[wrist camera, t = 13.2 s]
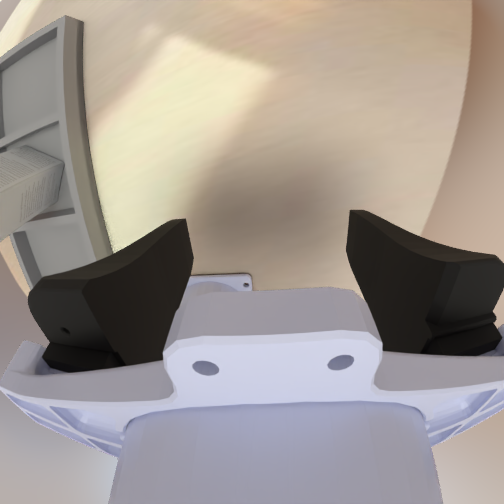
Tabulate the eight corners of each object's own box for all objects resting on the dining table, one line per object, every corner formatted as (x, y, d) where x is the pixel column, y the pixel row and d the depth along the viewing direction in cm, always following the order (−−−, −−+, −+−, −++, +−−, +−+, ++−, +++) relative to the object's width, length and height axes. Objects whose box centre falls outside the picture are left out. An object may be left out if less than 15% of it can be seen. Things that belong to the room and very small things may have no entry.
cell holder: (124, 289, 26) (113, 307, 24) (49, 288, 27) (36, 302, 24) (83, 21, 14) (65, 15, 11) (4, 68, 14) (-14, 68, 11)
